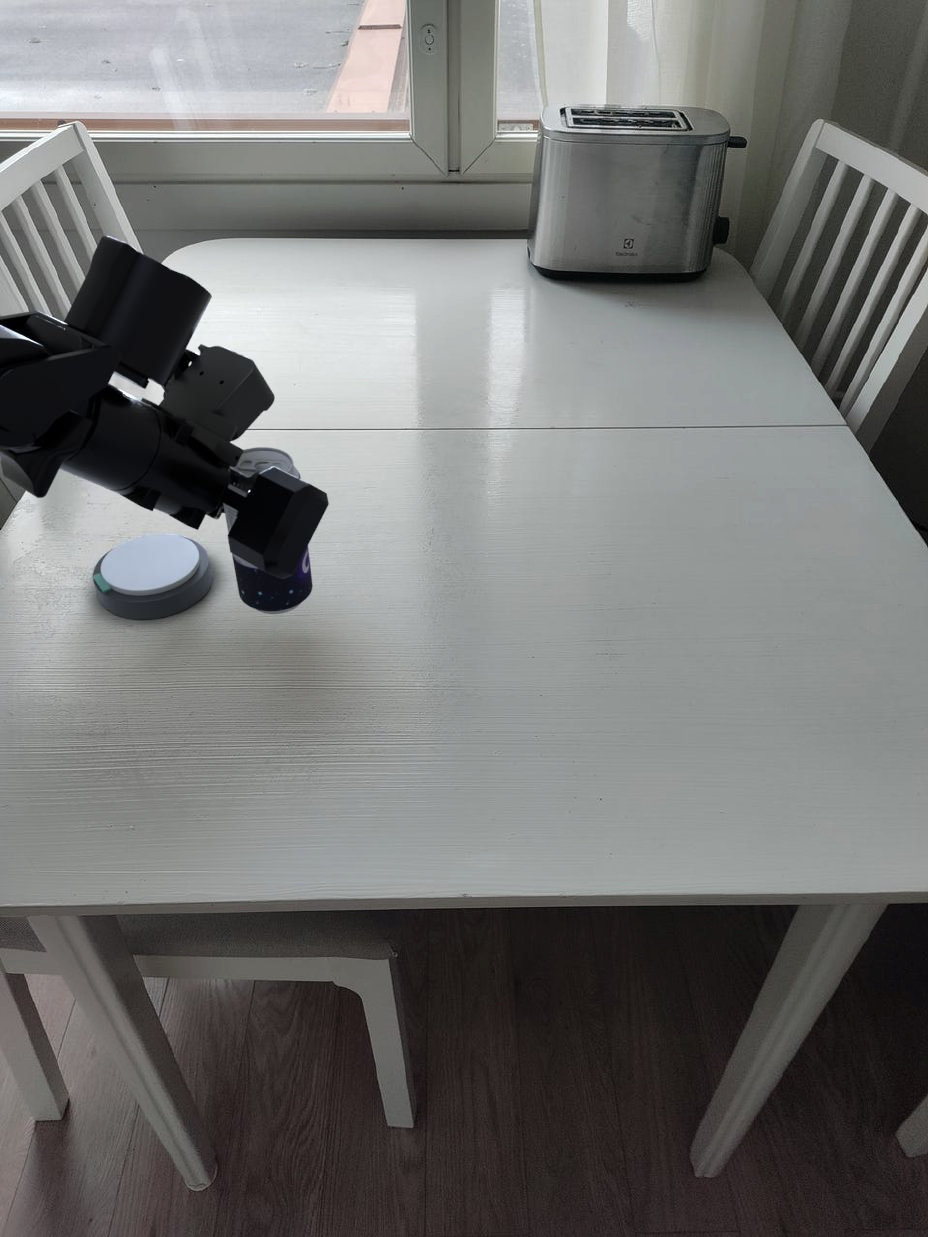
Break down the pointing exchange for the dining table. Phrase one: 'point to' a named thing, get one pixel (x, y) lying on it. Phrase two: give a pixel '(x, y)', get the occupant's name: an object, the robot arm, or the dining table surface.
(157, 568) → the kitchen scale
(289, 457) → the beverage can
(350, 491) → the dining table surface
